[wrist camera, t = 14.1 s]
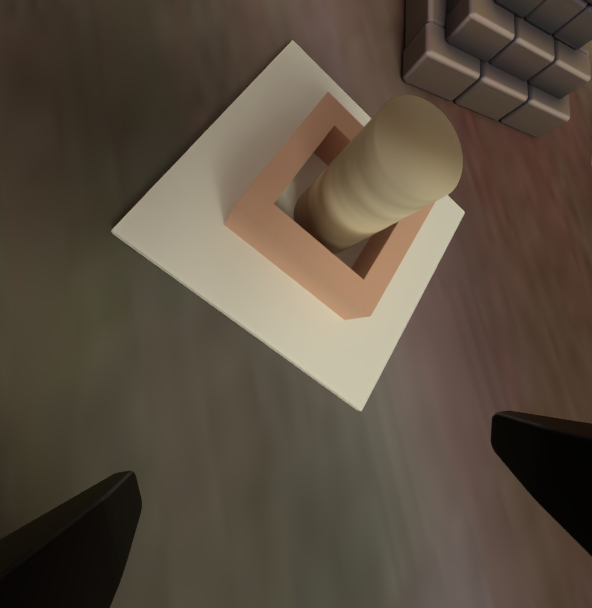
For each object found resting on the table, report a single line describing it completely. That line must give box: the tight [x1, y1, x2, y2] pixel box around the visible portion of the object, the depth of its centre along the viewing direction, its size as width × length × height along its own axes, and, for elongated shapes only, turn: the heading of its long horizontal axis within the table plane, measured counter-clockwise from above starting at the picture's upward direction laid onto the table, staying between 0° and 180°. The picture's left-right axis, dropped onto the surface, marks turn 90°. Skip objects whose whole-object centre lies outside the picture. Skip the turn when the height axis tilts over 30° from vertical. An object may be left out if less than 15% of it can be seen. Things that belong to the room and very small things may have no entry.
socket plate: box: [111, 40, 465, 411], centre depth 22 cm, size 18×18×4 cm
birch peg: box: [294, 95, 463, 254], centre depth 19 cm, size 5×5×9 cm
